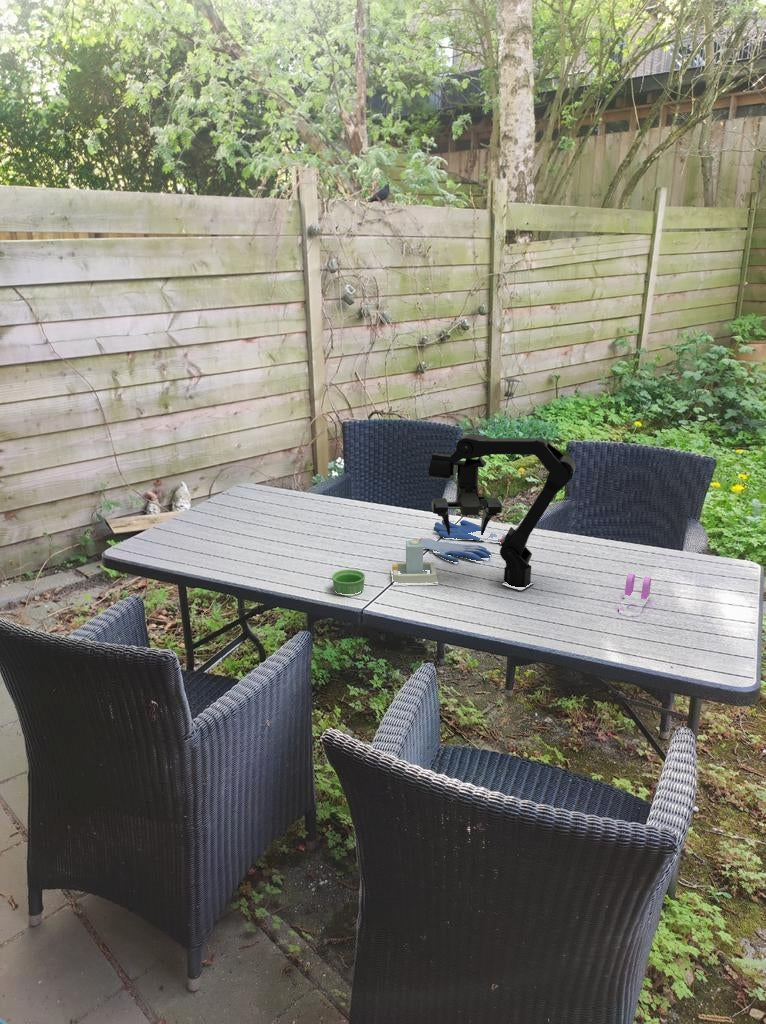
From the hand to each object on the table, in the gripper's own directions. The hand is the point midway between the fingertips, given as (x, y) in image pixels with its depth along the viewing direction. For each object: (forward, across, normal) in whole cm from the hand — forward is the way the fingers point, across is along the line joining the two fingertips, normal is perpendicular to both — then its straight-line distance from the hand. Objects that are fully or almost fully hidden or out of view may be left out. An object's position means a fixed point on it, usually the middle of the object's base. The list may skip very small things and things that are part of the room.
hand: (465, 534), depth 197 cm
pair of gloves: (+14, +3, +26) cm, 29 cm away
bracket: (+13, +41, -19) cm, 48 cm away
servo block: (+12, -14, 0) cm, 19 cm away
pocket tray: (+13, -14, 0) cm, 19 cm away
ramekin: (+13, -32, -7) cm, 36 cm away
